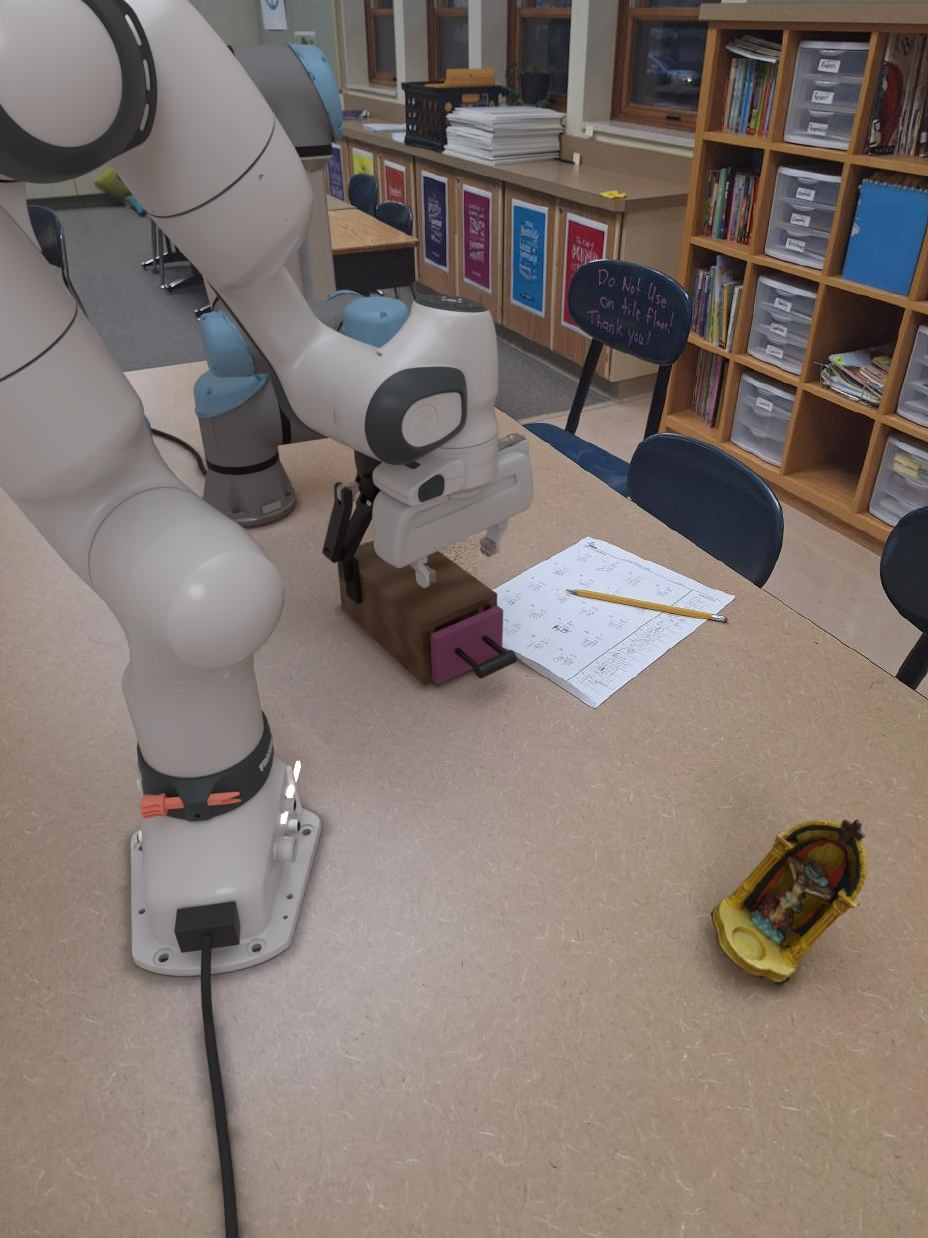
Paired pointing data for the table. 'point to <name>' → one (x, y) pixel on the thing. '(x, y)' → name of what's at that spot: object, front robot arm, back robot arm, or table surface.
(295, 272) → the back robot arm
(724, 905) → the shrine
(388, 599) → the cabinet
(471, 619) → the drawer
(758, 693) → the table surface
